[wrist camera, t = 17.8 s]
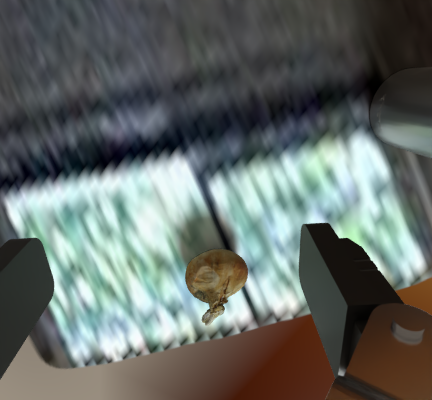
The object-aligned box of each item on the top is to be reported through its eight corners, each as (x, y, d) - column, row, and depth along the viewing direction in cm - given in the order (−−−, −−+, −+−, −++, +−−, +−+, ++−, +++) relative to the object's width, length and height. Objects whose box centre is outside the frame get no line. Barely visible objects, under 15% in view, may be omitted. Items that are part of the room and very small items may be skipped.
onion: (251, 273, 47) (265, 310, 39) (199, 296, 47) (202, 337, 40) (230, 228, 44) (241, 259, 37) (175, 253, 44) (174, 288, 37)
